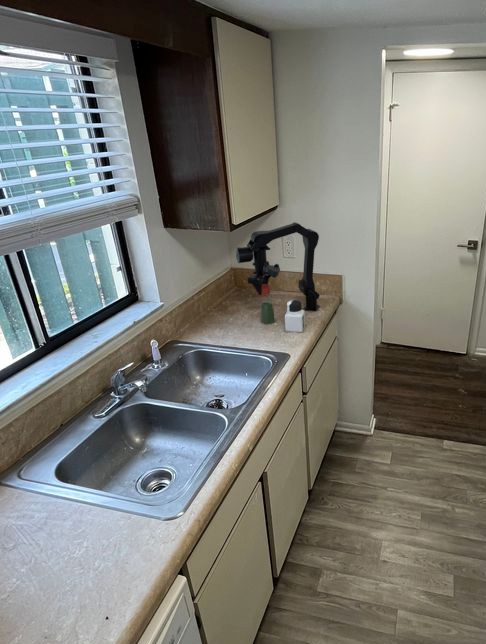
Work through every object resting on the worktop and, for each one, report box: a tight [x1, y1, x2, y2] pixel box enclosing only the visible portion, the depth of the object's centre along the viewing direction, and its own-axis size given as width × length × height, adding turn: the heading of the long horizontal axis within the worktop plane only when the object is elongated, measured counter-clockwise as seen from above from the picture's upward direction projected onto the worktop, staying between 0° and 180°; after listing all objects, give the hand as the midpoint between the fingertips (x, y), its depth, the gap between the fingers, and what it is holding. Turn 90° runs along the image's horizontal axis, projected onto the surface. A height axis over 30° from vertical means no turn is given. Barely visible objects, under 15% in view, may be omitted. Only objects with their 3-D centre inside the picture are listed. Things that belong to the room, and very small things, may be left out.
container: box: [284, 299, 306, 333], centre depth 195 cm, size 8×8×13 cm
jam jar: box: [260, 300, 275, 325], centre depth 203 cm, size 6×6×10 cm
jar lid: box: [255, 283, 271, 296], centre depth 204 cm, size 7×7×3 cm
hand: (262, 292), depth 204 cm, fingers closed on jar lid, 6 cm apart
